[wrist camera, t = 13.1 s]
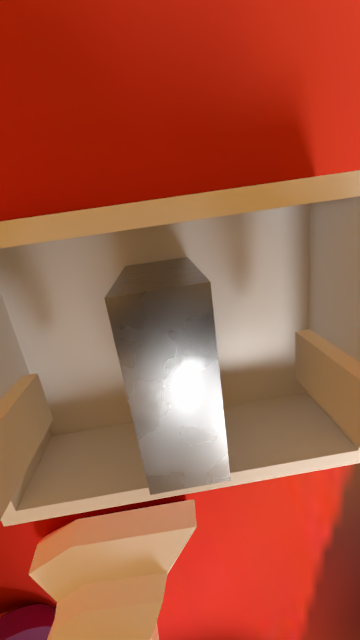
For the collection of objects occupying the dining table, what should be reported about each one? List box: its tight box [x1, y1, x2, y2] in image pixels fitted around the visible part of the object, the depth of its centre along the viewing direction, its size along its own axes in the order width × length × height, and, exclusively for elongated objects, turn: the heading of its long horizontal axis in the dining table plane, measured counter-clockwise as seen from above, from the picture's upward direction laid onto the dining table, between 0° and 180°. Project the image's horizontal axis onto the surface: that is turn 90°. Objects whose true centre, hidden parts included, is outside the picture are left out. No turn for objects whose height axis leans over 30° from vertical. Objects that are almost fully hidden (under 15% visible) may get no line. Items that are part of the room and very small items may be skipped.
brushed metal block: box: [104, 257, 231, 495], centre depth 16 cm, size 10×4×8 cm, turn 8°
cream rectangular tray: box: [0, 170, 360, 527], centre depth 17 cm, size 16×22×7 cm
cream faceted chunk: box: [28, 499, 197, 640], centre depth 21 cm, size 12×15×14 cm
